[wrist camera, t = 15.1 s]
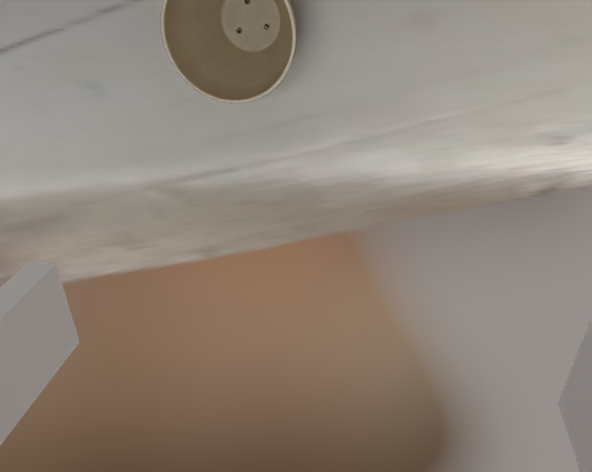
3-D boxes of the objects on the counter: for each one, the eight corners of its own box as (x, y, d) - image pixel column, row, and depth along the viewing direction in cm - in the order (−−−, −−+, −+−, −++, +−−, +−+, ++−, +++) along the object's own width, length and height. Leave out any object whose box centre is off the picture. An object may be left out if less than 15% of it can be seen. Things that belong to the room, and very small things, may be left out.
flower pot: (285, -72, 39) (263, -71, 33) (327, 57, 43) (315, 80, 37) (173, -22, 42) (135, -13, 36) (223, 94, 46) (196, 119, 40)
